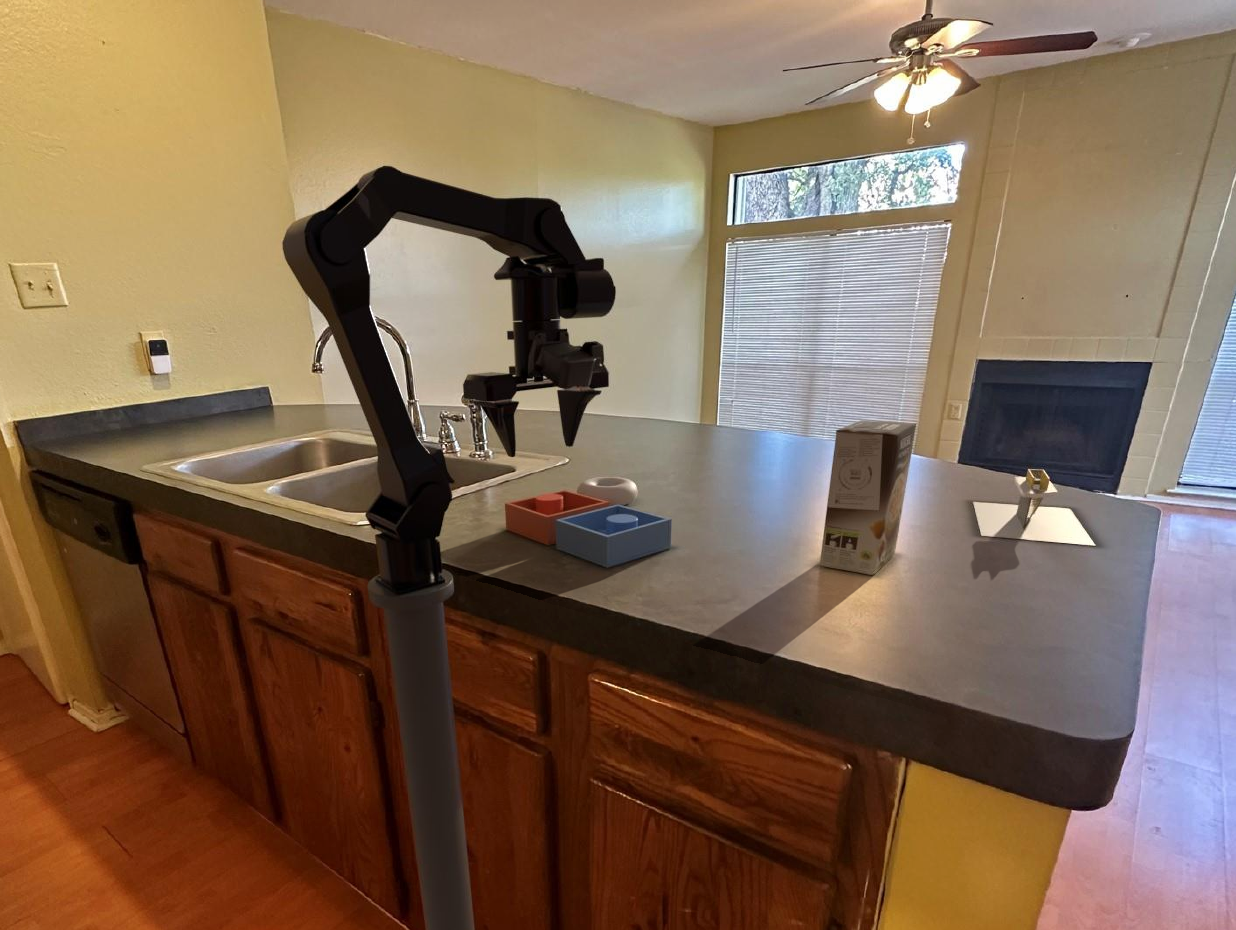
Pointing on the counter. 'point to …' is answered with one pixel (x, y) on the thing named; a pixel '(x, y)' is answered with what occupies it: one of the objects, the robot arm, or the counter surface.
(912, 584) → the counter surface
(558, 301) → the robot arm
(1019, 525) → the platform
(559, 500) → the red cylinder with peg
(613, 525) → the blue handled mug
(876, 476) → the coffee box
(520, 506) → the red bin
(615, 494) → the donut
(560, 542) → the blue bin
